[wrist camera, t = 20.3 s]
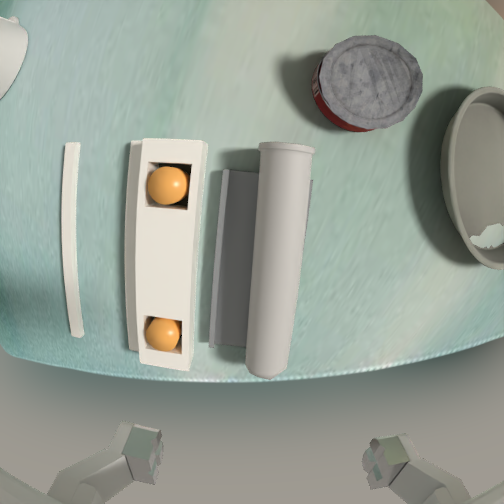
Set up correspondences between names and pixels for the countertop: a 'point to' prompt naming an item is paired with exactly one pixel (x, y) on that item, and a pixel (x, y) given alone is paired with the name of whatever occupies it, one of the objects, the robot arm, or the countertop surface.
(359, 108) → the canned food
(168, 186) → the front plunger
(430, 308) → the countertop surface
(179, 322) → the rear plunger
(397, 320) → the countertop surface
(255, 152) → the countertop surface
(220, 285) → the tray
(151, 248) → the housing
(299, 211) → the tube
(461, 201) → the cake pan
